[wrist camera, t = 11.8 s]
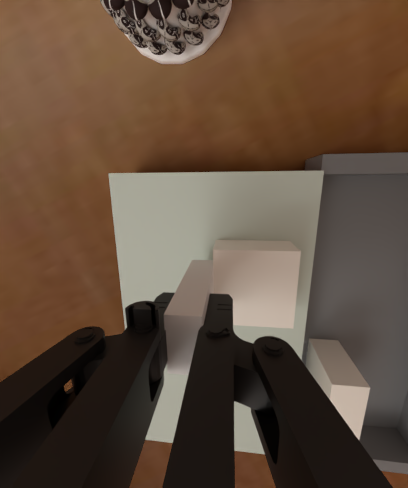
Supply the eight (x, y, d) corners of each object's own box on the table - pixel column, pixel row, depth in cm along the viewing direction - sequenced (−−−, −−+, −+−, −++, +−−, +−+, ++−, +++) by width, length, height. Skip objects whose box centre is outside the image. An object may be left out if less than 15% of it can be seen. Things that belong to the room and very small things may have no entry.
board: (280, 413, 24) (290, 457, 20) (150, 400, 26) (136, 438, 22) (304, 173, 18) (324, 170, 14) (132, 175, 20) (108, 173, 16)
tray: (404, 434, 23) (433, 477, 20) (280, 421, 24) (287, 459, 21) (481, 156, 16) (546, 149, 13) (305, 159, 18) (322, 154, 14)
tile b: (284, 307, 17) (293, 328, 14) (215, 304, 17) (213, 323, 15) (290, 240, 15) (301, 251, 13) (215, 239, 16) (212, 249, 14)
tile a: (303, 383, 22) (330, 385, 22) (323, 438, 17) (358, 442, 17) (309, 338, 21) (338, 340, 21) (332, 384, 16) (370, 387, 16)
